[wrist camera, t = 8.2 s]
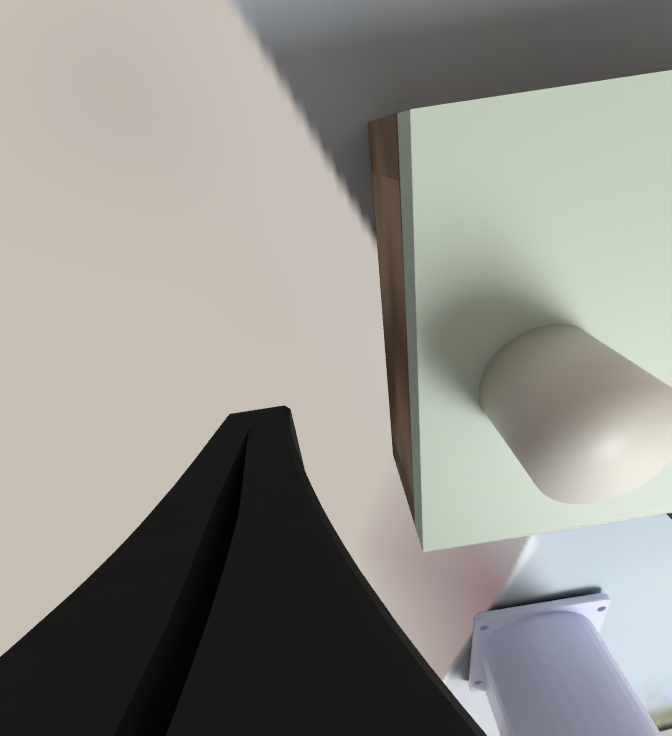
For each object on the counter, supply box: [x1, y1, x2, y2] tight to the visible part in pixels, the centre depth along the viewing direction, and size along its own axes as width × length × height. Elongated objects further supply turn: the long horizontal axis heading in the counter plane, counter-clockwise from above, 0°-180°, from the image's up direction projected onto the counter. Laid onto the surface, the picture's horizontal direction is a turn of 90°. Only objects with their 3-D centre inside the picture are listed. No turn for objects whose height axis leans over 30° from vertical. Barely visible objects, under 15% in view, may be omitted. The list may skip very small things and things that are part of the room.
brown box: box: [368, 114, 415, 524], centre depth 12 cm, size 12×16×4 cm
